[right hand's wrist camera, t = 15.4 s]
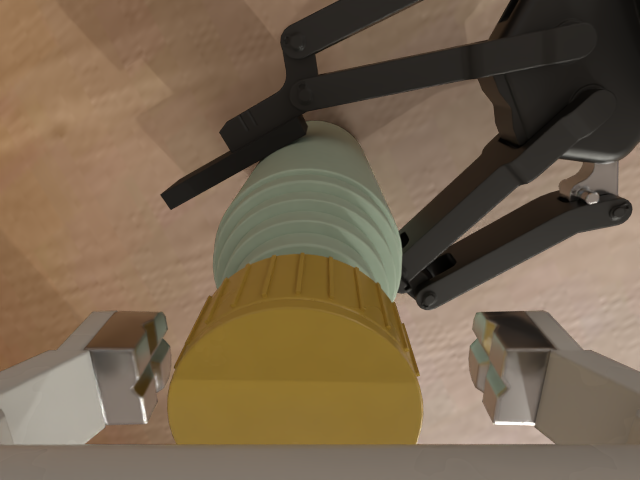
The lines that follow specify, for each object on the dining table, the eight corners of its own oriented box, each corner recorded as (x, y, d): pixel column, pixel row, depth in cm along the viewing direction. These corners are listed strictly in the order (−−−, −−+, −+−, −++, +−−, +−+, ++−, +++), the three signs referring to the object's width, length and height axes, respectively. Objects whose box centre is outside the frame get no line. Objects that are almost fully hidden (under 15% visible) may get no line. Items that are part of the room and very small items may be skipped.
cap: (175, 395, 11) (139, 477, 9) (228, 219, 9) (199, 266, 7) (359, 447, 11) (367, 536, 9) (440, 290, 10) (472, 354, 7)
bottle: (270, 111, 25) (138, 224, 7) (378, 131, 25) (503, 284, 8) (256, 214, 27) (130, 495, 9) (356, 231, 27) (413, 533, 10)
